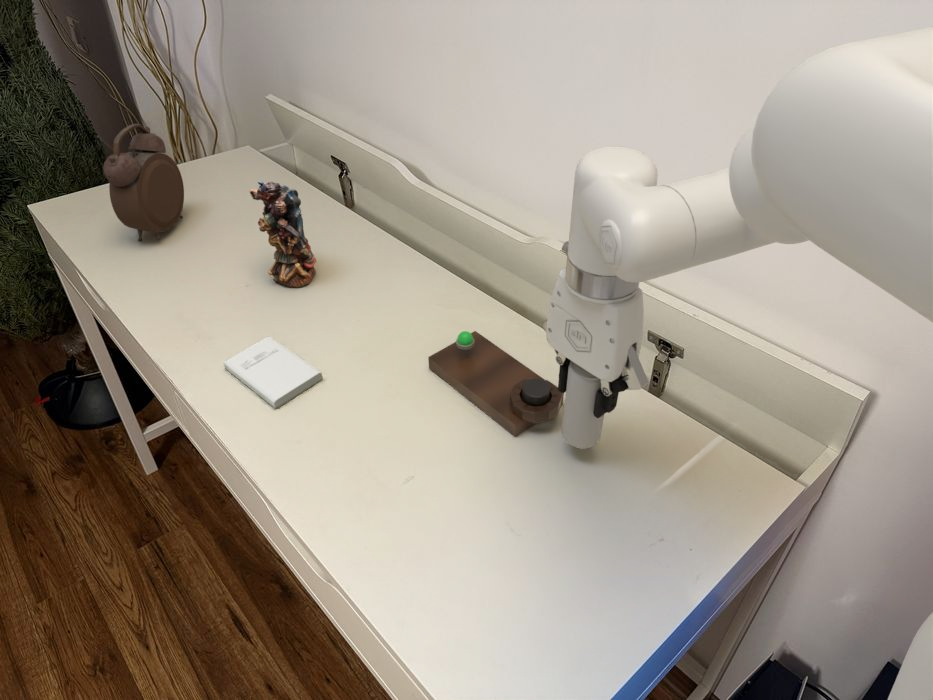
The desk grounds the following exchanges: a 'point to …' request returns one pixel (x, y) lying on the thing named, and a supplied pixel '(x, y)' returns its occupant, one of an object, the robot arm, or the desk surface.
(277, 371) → the hard drive
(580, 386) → the beverage can
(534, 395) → the button
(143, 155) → the alarm clock
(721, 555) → the desk surface
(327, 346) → the desk surface
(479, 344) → the switch box
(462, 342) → the green lamp
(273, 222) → the figurine
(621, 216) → the robot arm
